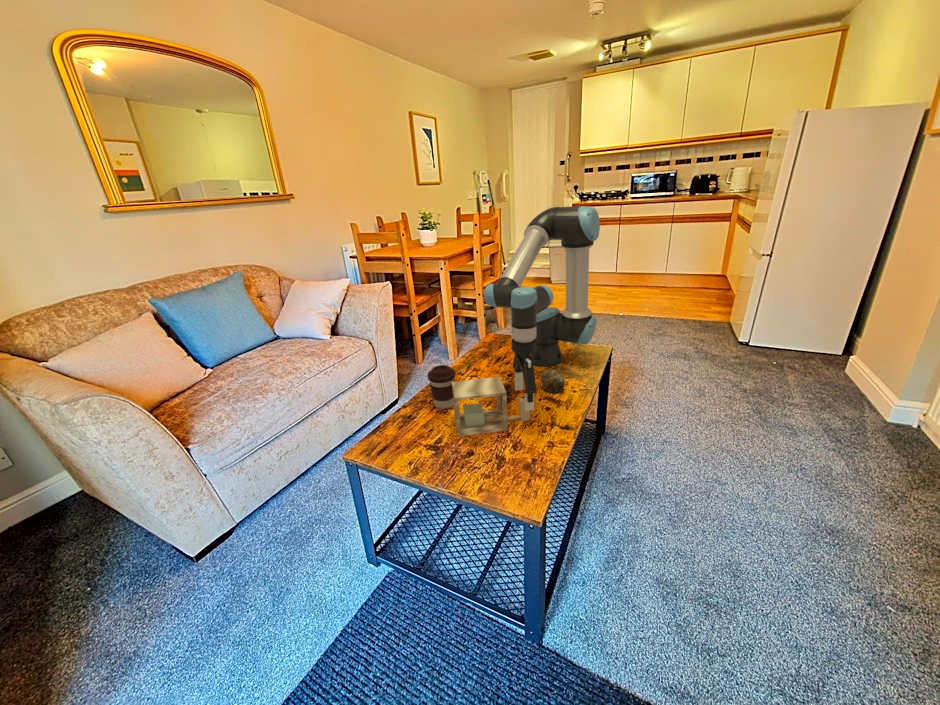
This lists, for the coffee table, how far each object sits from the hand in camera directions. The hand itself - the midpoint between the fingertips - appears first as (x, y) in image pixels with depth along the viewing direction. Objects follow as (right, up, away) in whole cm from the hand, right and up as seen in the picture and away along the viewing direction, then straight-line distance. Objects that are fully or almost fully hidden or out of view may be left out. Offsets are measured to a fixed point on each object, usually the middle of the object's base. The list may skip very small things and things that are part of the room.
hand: (523, 399), depth 129 cm
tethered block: (-8, -9, +3) cm, 12 cm away
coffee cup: (-27, -4, +16) cm, 32 cm away
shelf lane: (-14, -9, +2) cm, 17 cm away
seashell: (+14, +1, +23) cm, 27 cm away
